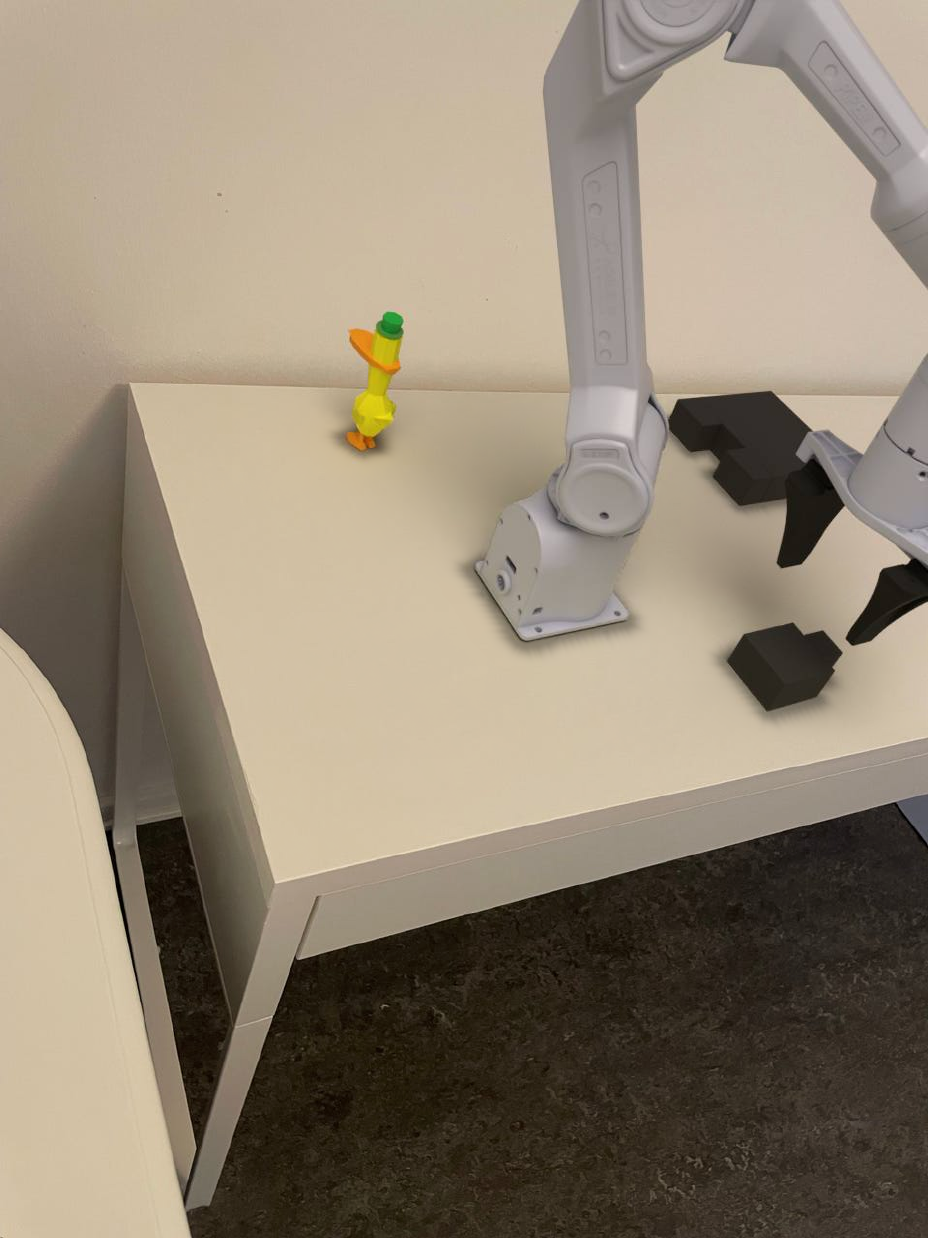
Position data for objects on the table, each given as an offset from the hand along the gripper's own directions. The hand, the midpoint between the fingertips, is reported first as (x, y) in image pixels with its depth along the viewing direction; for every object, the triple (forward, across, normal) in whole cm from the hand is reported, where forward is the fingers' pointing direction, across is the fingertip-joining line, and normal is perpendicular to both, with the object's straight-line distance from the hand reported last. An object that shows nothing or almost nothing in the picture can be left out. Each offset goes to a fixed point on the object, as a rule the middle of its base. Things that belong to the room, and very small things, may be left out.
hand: (822, 600), depth 72 cm
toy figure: (+8, +32, +20) cm, 38 cm away
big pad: (+8, +23, -16) cm, 30 cm away
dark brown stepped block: (+8, 0, +1) cm, 8 cm away
